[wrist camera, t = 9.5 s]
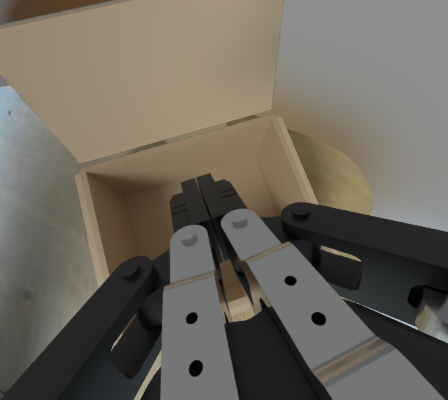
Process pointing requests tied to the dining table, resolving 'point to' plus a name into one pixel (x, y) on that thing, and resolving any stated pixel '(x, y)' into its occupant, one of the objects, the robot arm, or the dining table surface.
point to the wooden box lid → (142, 69)
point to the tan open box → (170, 185)
